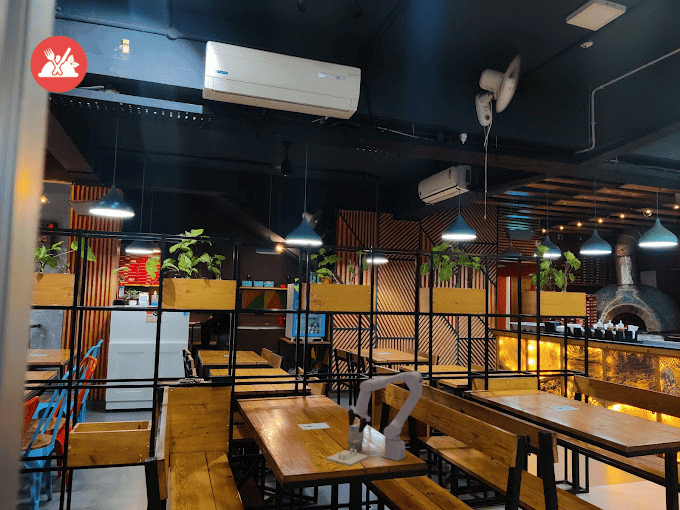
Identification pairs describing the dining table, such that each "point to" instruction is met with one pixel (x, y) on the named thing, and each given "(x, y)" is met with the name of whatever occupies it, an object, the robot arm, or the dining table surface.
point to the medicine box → (355, 433)
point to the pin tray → (347, 457)
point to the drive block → (355, 445)
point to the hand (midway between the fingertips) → (355, 428)
